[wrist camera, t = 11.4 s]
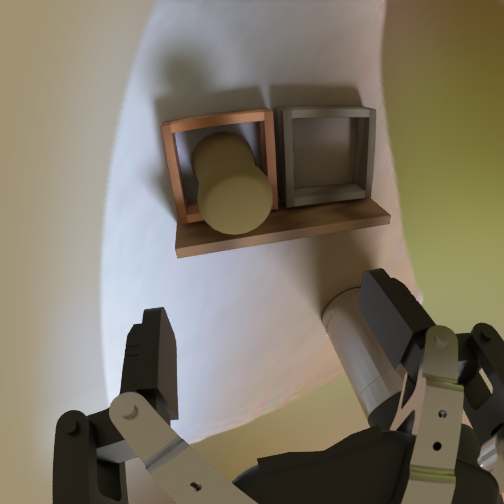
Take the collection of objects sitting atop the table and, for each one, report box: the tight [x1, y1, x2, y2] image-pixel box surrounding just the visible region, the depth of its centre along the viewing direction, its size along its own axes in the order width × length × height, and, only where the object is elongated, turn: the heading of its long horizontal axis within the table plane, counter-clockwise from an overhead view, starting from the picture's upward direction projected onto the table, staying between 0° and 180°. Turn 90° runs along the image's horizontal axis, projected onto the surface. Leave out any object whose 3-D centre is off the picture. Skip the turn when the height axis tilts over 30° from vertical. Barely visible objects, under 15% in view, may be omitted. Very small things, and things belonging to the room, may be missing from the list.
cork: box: [192, 132, 273, 235], centre depth 23 cm, size 6×6×11 cm
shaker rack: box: [161, 106, 391, 258], centre depth 26 cm, size 21×11×6 cm, turn 94°
